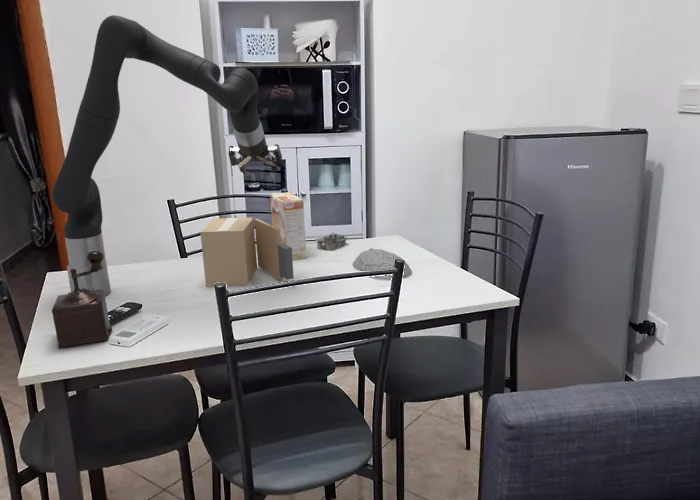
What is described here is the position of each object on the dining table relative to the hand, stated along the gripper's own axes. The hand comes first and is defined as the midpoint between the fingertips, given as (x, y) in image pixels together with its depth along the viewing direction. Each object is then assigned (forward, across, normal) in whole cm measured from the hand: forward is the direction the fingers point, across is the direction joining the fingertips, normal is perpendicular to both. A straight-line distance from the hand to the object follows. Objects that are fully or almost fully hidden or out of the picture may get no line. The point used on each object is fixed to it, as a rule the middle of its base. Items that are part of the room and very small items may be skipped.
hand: (259, 171), depth 169 cm
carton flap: (+18, -3, +24) cm, 31 cm away
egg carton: (+40, -19, +3) cm, 45 cm away
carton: (+19, +10, +25) cm, 32 cm away
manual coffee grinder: (-8, +36, +52) cm, 63 cm away
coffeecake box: (+35, -5, +9) cm, 36 cm away
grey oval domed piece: (+22, -35, +22) cm, 47 cm away
